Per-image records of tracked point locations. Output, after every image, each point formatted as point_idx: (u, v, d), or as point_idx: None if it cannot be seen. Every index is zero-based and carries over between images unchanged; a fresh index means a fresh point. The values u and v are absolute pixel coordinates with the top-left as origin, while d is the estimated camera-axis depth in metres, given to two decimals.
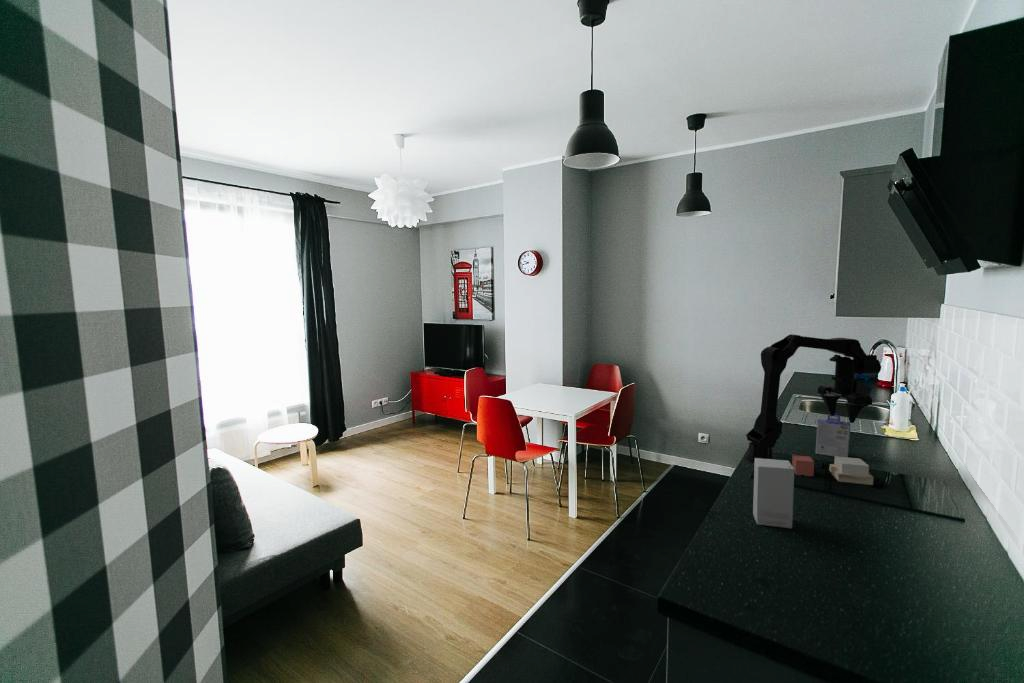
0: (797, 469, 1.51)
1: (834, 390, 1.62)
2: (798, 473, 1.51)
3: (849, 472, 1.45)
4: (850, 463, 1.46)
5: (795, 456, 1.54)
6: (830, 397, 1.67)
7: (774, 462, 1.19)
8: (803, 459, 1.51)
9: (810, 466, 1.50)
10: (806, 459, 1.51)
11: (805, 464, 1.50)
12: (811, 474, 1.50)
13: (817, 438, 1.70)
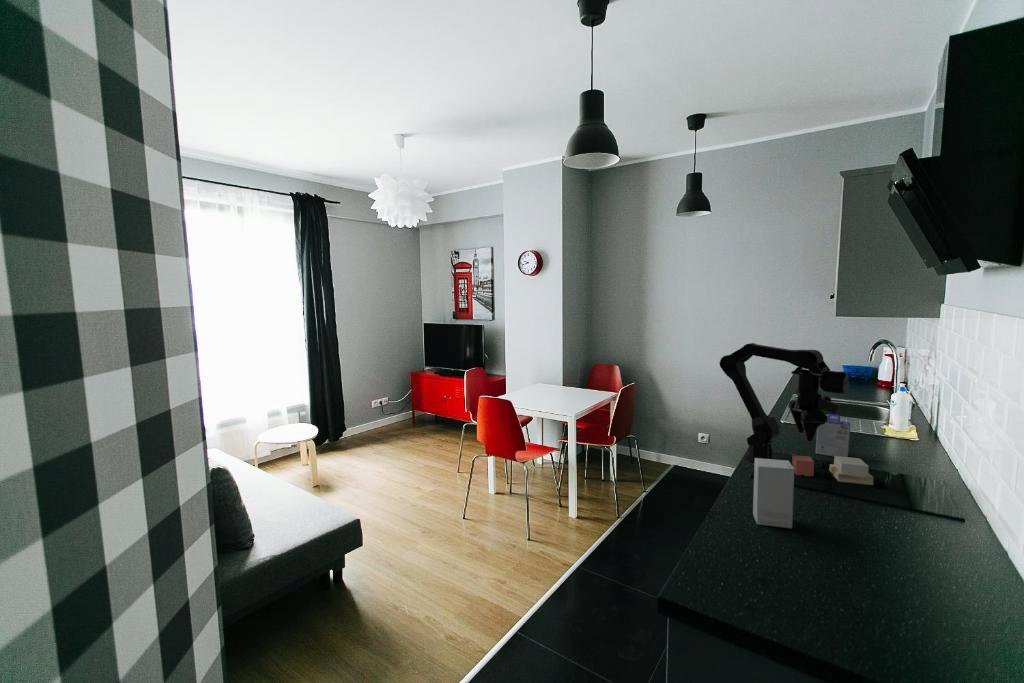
0: (797, 469, 1.51)
1: (796, 405, 1.52)
2: (798, 473, 1.51)
3: (848, 472, 1.45)
4: (850, 463, 1.46)
5: (795, 456, 1.54)
6: (798, 412, 1.56)
7: (774, 462, 1.19)
8: (803, 459, 1.51)
9: (810, 466, 1.50)
10: (806, 459, 1.51)
11: (805, 464, 1.50)
12: (811, 474, 1.50)
13: (817, 438, 1.70)
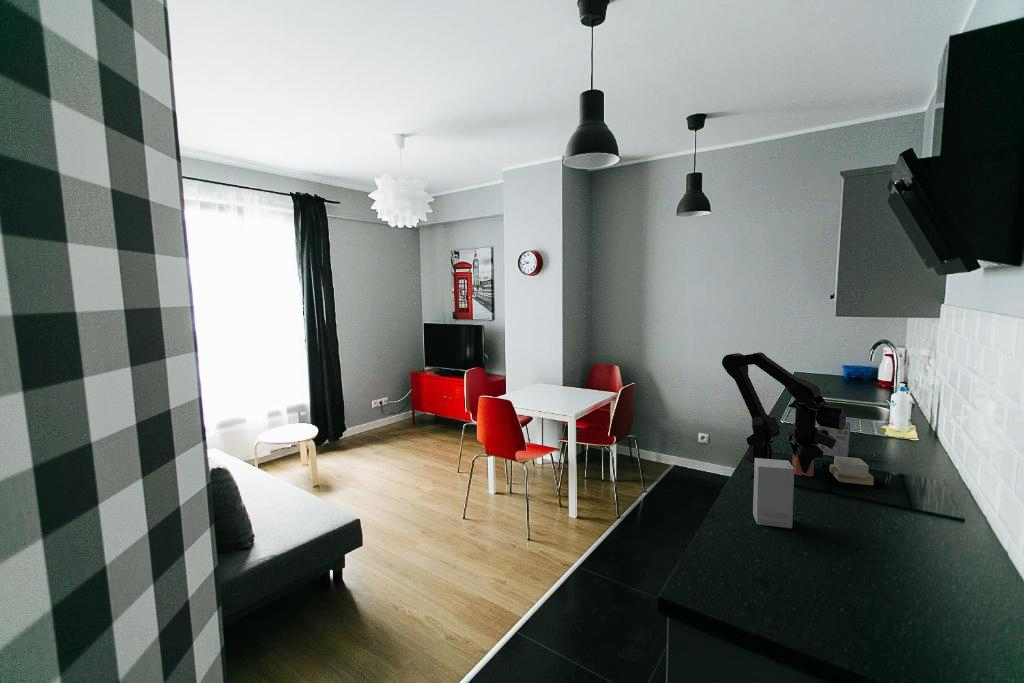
0: (797, 469, 1.51)
1: (793, 438, 1.53)
2: (798, 473, 1.51)
3: (849, 472, 1.45)
4: (850, 463, 1.46)
5: (795, 456, 1.54)
6: (798, 447, 1.55)
7: (774, 462, 1.19)
8: None
9: (810, 466, 1.50)
10: None
11: None
12: (811, 474, 1.50)
13: None
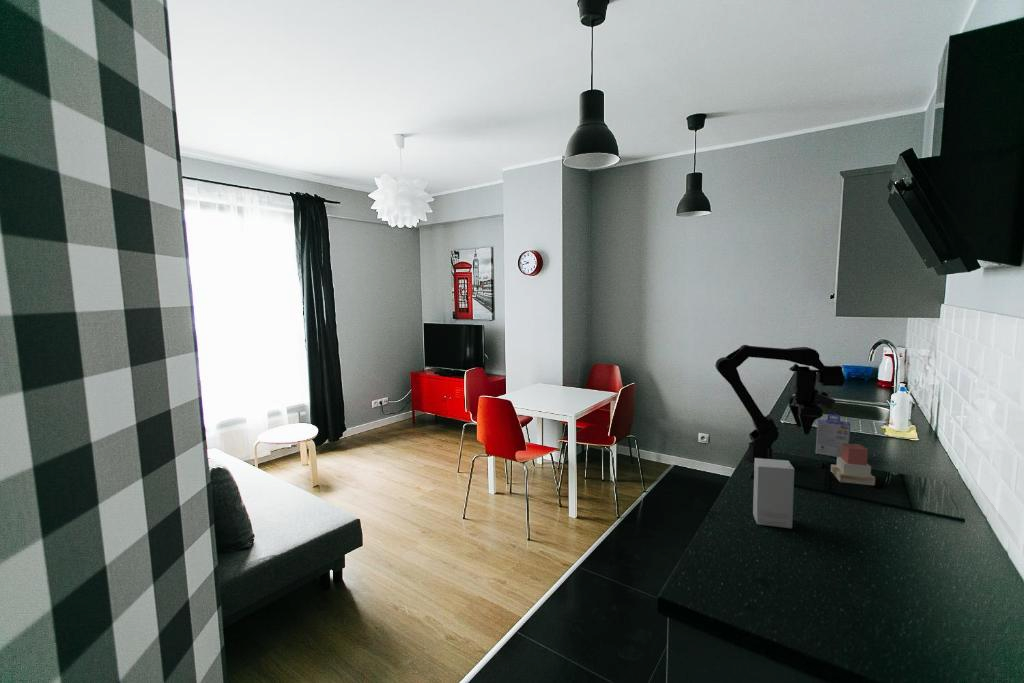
0: (850, 457, 1.45)
1: (794, 400, 1.59)
2: (851, 462, 1.45)
3: (851, 473, 1.45)
4: (852, 464, 1.46)
5: (846, 444, 1.49)
6: (797, 407, 1.63)
7: (774, 462, 1.19)
8: (855, 447, 1.46)
9: (863, 455, 1.44)
10: (859, 447, 1.46)
11: (858, 452, 1.45)
12: (864, 462, 1.44)
13: (817, 438, 1.70)
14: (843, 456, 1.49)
